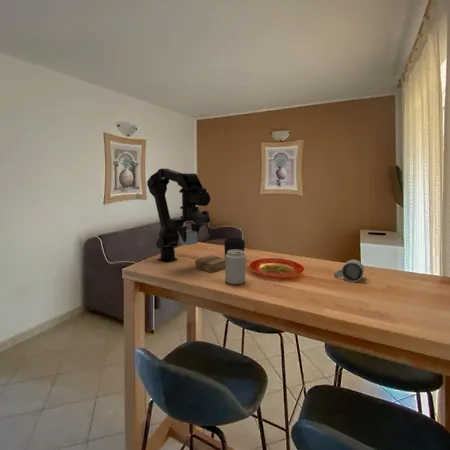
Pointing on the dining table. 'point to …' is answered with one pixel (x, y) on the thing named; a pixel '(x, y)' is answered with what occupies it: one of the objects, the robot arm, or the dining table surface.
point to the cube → (190, 237)
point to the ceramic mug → (351, 271)
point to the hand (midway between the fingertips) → (189, 241)
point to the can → (235, 267)
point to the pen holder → (233, 244)
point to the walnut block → (210, 264)
